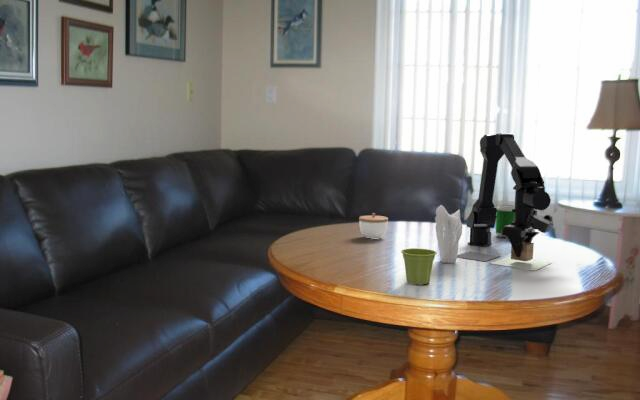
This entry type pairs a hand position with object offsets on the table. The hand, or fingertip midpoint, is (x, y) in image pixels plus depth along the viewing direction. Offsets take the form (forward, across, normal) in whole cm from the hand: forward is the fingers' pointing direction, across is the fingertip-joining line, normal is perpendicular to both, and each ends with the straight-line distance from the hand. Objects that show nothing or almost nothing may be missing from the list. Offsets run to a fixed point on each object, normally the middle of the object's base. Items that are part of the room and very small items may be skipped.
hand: (521, 255), depth 205 cm
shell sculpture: (+3, -14, +18) cm, 23 cm away
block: (+1, 0, 0) cm, 1 cm away
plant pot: (+3, -43, +11) cm, 44 cm away
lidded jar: (+3, +4, +59) cm, 59 cm away
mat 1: (+2, 0, +15) cm, 15 cm away
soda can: (+3, +42, +24) cm, 48 cm away
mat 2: (+2, 0, 0) cm, 2 cm away
